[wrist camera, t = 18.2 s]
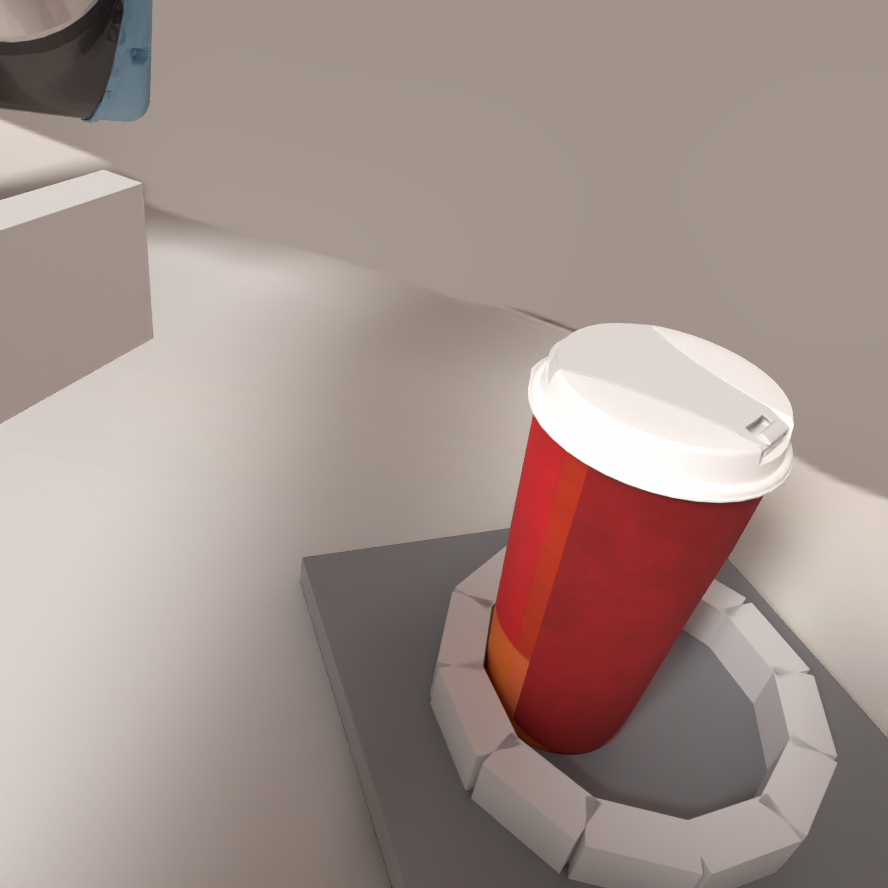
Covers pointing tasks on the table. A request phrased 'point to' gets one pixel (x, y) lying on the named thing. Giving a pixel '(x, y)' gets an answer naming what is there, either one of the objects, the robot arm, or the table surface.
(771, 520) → the table surface
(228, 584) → the table surface
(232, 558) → the table surface
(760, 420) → the paper cup
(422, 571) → the collar board
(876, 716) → the table surface
